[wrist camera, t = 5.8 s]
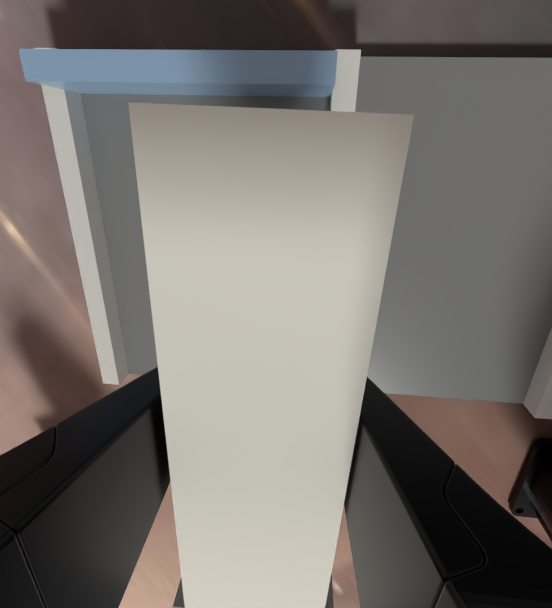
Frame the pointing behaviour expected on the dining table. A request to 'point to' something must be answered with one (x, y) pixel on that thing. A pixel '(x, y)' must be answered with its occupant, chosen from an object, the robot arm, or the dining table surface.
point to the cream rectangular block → (263, 330)
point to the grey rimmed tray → (409, 217)
